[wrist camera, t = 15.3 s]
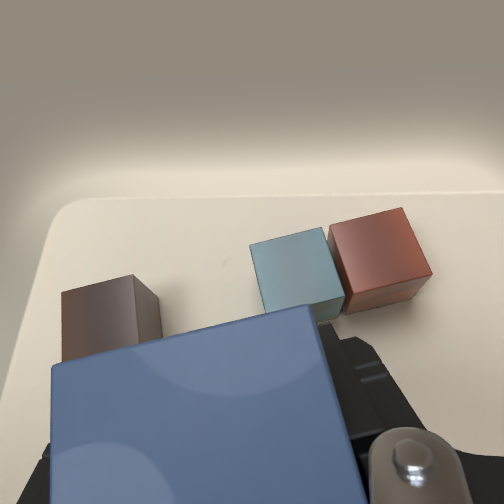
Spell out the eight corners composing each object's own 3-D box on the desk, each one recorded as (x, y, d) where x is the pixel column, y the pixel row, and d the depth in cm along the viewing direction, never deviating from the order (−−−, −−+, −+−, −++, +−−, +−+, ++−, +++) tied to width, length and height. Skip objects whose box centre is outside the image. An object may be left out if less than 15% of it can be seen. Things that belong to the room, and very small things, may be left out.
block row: (99, 376, 28) (61, 366, 24) (96, 311, 30) (60, 291, 26) (411, 298, 28) (433, 274, 23) (386, 239, 30) (402, 206, 26)
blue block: (199, 549, 12) (42, 746, 5) (180, 396, 14) (48, 363, 6) (342, 515, 12) (415, 660, 4) (303, 367, 14) (310, 301, 6)
